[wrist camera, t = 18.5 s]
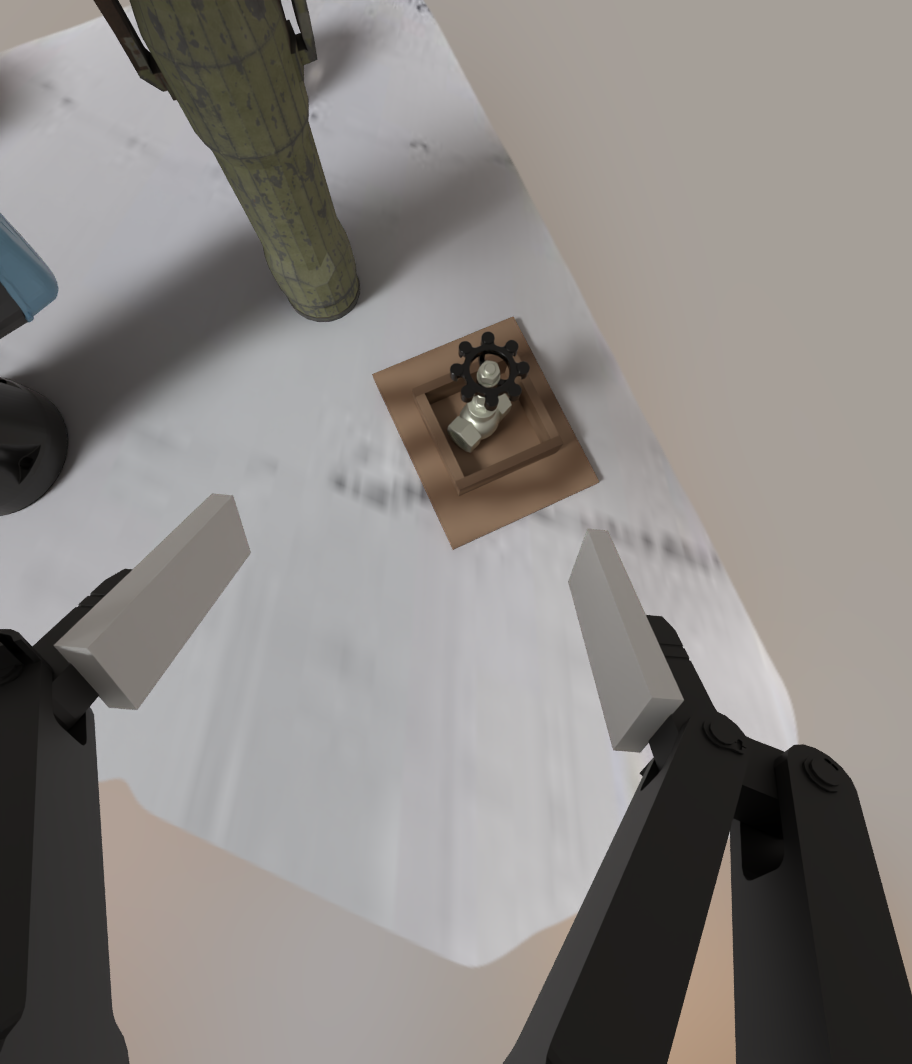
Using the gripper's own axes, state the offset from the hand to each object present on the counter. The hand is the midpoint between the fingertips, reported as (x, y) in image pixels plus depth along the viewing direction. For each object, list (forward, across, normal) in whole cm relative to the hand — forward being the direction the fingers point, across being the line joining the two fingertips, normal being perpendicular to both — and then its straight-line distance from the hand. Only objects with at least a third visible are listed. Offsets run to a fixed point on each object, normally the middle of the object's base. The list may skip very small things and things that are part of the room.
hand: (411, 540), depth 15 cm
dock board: (+31, +4, -8) cm, 32 cm away
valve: (+30, +4, -8) cm, 32 cm away
